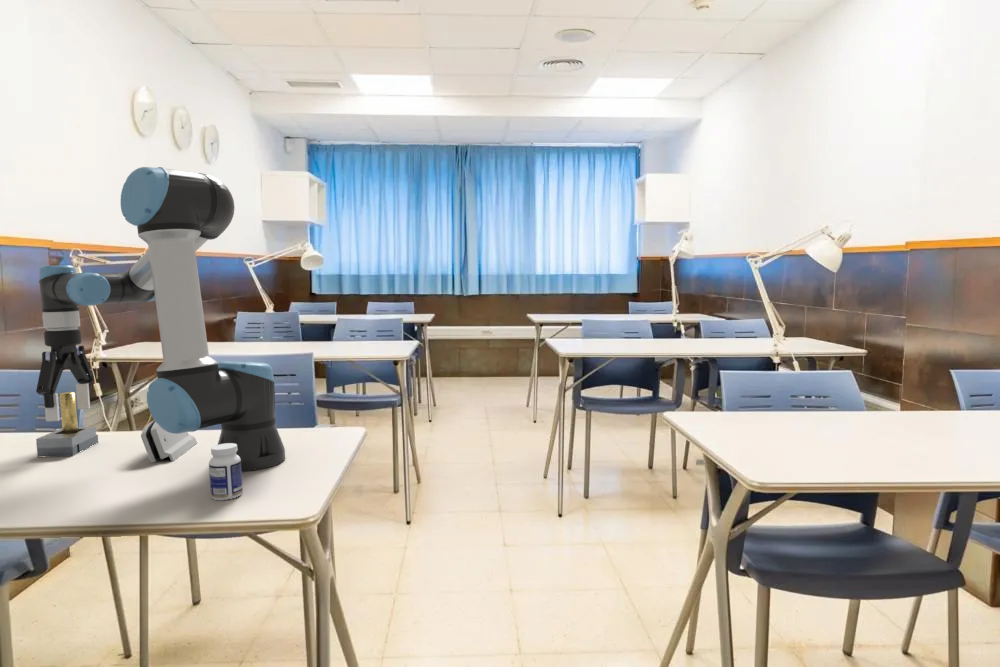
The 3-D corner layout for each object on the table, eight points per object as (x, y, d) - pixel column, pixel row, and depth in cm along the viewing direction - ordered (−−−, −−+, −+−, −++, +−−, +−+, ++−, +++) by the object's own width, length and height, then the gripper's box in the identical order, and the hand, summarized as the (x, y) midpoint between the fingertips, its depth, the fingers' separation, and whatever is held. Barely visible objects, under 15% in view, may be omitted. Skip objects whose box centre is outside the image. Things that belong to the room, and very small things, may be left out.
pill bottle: (237, 489, 131) (234, 440, 130) (246, 496, 127) (244, 446, 126) (207, 495, 128) (204, 445, 127) (215, 503, 123) (213, 451, 122)
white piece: (173, 461, 151) (155, 422, 150) (153, 469, 151) (135, 429, 149) (198, 442, 167) (181, 406, 166) (180, 449, 167) (163, 413, 166)
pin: (74, 450, 161) (70, 394, 160) (61, 450, 161) (56, 394, 160) (81, 446, 165) (77, 391, 163) (68, 447, 164) (64, 392, 163)
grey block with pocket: (65, 444, 167) (64, 427, 167) (98, 443, 168) (97, 426, 167) (37, 457, 156) (36, 438, 155) (73, 455, 156) (71, 437, 156)
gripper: (74, 325, 172) (80, 404, 174) (12, 334, 147) (20, 427, 149) (104, 324, 172) (110, 403, 175) (48, 333, 148) (55, 425, 150)
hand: (69, 414), depth 162 cm, fingers open, 13 cm apart
